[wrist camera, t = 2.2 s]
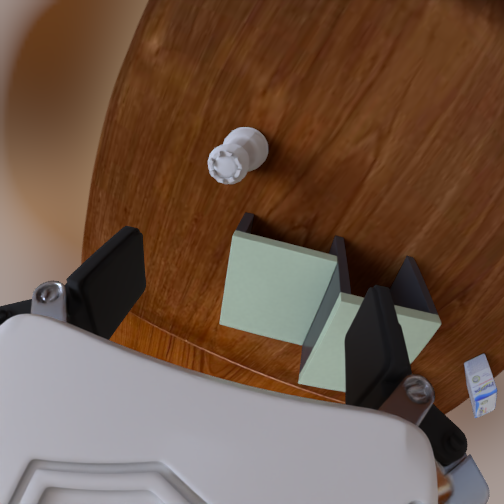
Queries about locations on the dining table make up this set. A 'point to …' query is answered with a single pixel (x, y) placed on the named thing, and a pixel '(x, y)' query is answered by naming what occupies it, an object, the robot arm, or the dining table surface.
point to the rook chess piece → (238, 155)
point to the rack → (313, 301)
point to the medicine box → (480, 385)
